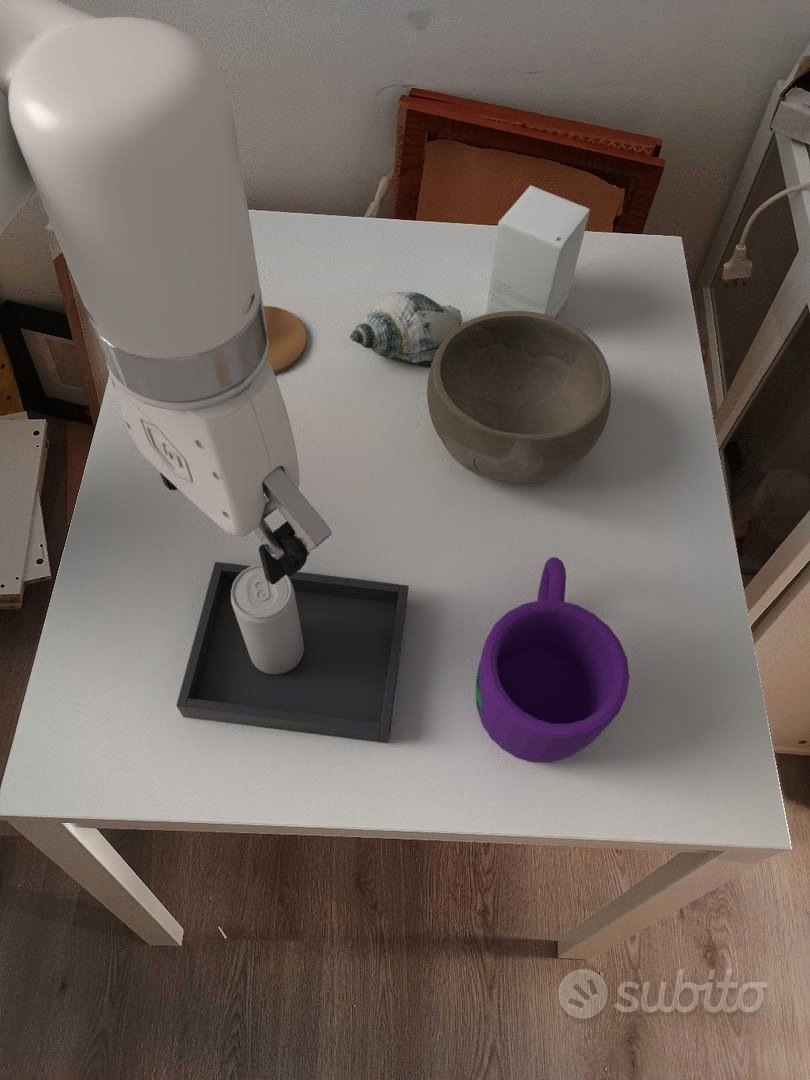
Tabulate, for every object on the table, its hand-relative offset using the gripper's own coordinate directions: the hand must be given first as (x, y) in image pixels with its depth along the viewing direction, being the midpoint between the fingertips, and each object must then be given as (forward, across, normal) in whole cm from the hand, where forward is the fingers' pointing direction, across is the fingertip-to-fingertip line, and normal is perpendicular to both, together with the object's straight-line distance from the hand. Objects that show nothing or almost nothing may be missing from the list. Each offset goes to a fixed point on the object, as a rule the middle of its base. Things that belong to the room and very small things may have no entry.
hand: (236, 520), depth 53 cm
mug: (+24, +18, +15) cm, 33 cm away
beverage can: (+23, 0, 0) cm, 23 cm away
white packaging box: (+24, -12, +49) cm, 56 cm away
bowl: (+24, -1, +34) cm, 41 cm away
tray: (+23, +2, +2) cm, 24 cm away
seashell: (+24, -17, +35) cm, 46 cm away
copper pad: (+23, -29, +24) cm, 44 cm away
